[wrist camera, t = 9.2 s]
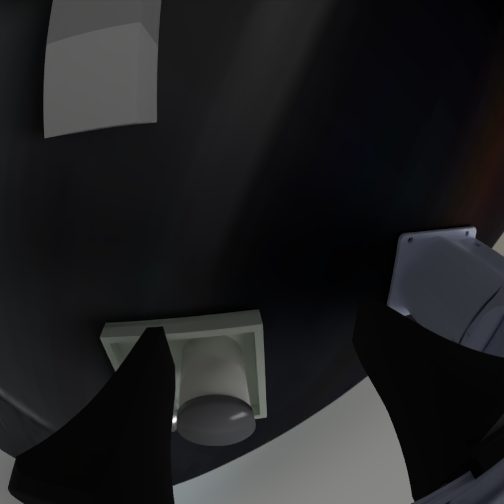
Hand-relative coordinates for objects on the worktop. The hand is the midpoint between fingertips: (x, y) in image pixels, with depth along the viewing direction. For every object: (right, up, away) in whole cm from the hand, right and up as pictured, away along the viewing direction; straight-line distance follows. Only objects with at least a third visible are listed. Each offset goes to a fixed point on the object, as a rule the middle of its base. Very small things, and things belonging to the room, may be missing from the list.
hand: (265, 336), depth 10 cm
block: (-8, +19, +1) cm, 21 cm away
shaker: (-4, -5, +12) cm, 14 cm away
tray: (-6, -7, +14) cm, 16 cm away
